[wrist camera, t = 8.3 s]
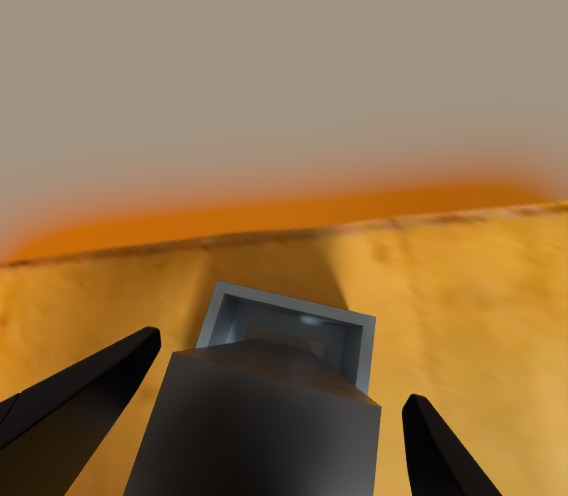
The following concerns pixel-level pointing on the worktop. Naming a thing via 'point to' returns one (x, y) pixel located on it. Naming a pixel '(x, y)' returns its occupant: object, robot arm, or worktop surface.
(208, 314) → the box
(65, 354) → the worktop surface
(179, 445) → the dark square pedestal
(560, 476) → the worktop surface
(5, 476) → the robot arm
